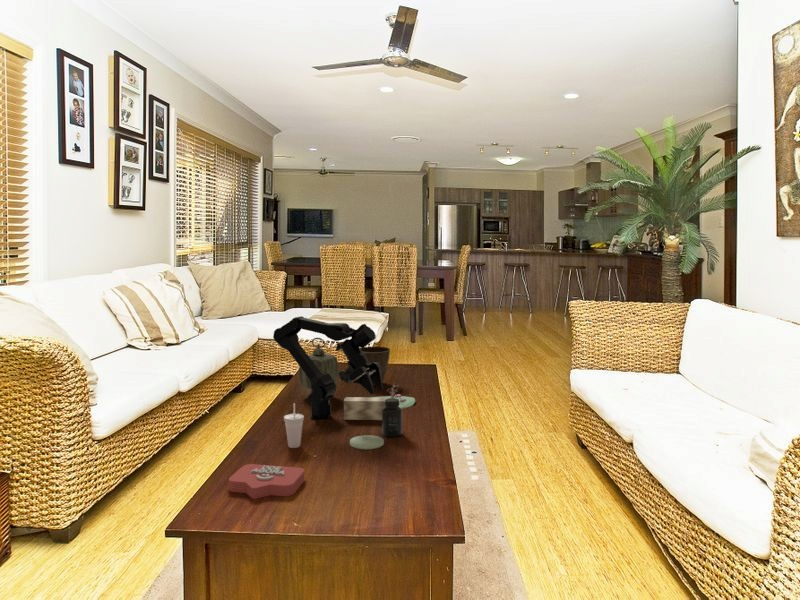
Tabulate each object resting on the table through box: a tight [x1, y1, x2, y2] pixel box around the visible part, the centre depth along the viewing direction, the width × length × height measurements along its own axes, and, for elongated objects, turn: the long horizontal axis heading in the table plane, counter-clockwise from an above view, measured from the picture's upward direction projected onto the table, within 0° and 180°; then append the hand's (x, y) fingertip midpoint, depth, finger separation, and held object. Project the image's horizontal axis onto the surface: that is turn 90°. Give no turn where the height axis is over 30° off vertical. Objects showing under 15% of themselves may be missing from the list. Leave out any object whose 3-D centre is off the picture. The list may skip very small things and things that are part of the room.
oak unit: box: [343, 396, 388, 421], centre depth 213 cm, size 16×5×7 cm, turn 90°
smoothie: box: [283, 403, 305, 449], centre depth 183 cm, size 6×6×14 cm
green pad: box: [349, 434, 385, 450], centre depth 187 cm, size 11×11×1 cm
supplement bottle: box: [381, 398, 403, 438], centre depth 195 cm, size 7×7×12 cm
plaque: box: [228, 463, 305, 500], centre depth 153 cm, size 18×4×15 cm
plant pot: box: [359, 346, 391, 387], centre depth 263 cm, size 15×15×16 cm
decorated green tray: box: [371, 381, 416, 410], centre depth 234 cm, size 25×21×9 cm
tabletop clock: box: [299, 337, 339, 398], centre depth 240 cm, size 14×9×25 cm, turn 58°
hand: (377, 391), depth 203 cm, fingers open, 9 cm apart
